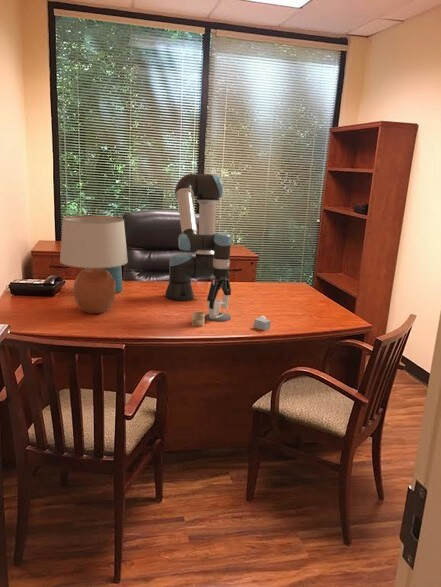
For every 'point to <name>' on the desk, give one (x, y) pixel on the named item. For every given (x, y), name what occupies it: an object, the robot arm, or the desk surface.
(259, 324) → the greyblue block
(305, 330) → the desk surface
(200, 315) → the birch block
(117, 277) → the vase
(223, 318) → the coaster
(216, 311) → the cup
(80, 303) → the lamp
